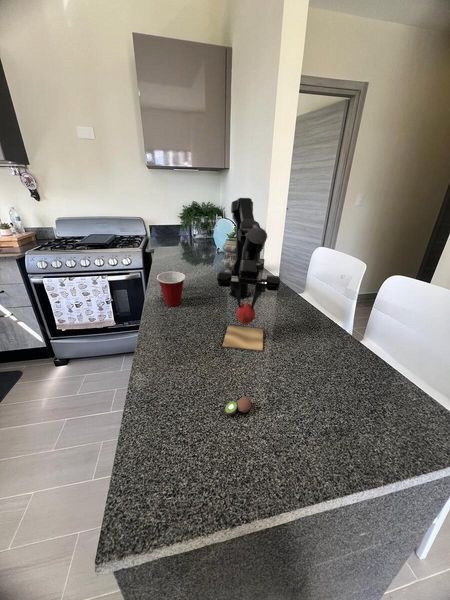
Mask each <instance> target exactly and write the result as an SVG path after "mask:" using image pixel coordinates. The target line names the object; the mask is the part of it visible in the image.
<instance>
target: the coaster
mask: <svg viewBox="0 0 450 600" xmlns="http://www.w3.org/2000/svg"><path fill="white" fill-rule="evenodd" d="M222 347H223V348H231V349H238V350H239V349H241V350H249V351H257V352H263V351H264V350H263V349H264V328H257V327H247V326H237V325H227V329H226V333H225V335H224V339H223V343H222Z"/></svg>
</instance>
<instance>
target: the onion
mask: <svg viewBox="0 0 450 600" xmlns="http://www.w3.org/2000/svg"><path fill="white" fill-rule="evenodd" d="M251 307H252V304H250V303H249V302H248V301H245V302H244V303H242V304H240V308H239V306H238V307H237V308H236V312H235V317H236V319H237V321H238V322H240V323H241V324H242V325H244V326H247V325H248V324H250V323H252V322H253V321H255V318H256V317H255V316H256V310H255V308H254V307H253V309H251Z"/></svg>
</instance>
